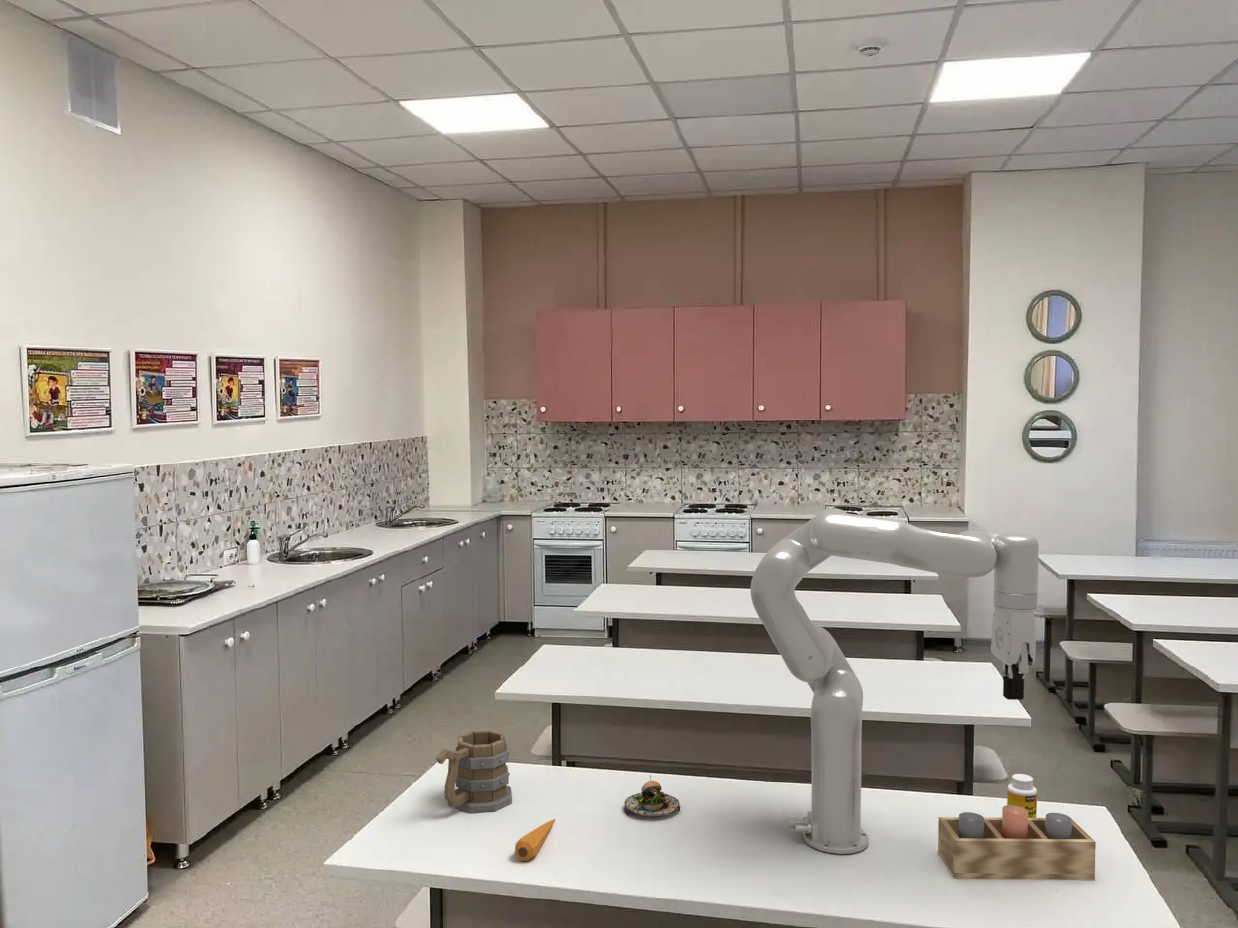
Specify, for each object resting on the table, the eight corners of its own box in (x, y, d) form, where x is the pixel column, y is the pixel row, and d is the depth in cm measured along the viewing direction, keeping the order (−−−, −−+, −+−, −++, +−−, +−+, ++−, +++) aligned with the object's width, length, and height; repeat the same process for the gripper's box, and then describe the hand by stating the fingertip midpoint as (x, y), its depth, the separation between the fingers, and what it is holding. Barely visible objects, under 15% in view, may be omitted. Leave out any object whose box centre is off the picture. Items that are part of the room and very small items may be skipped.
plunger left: (962, 859, 176) (963, 822, 176) (955, 848, 181) (955, 811, 180) (987, 859, 176) (987, 822, 176) (978, 848, 180) (979, 812, 180)
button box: (955, 878, 174) (955, 840, 173) (937, 852, 183) (938, 816, 183) (1094, 879, 173) (1095, 841, 172) (1070, 853, 183) (1070, 817, 182)
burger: (618, 819, 199) (618, 784, 199) (630, 797, 211) (630, 764, 210) (675, 825, 197) (675, 789, 196) (684, 802, 208) (684, 768, 208)
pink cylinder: (1006, 852, 176) (1007, 814, 175) (998, 841, 180) (998, 804, 180) (1031, 852, 176) (1031, 814, 175) (1021, 841, 180) (1022, 805, 180)
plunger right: (1050, 859, 176) (1051, 822, 175) (1040, 848, 180) (1041, 812, 180) (1075, 859, 176) (1076, 822, 175) (1064, 848, 180) (1065, 812, 180)
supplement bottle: (1025, 834, 191) (1026, 784, 190) (1000, 824, 196) (1001, 775, 195) (1042, 827, 194) (1043, 778, 194) (1017, 818, 199) (1018, 769, 198)
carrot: (528, 868, 180) (537, 847, 179) (507, 856, 181) (517, 835, 180) (560, 833, 199) (569, 814, 199) (541, 822, 200) (550, 803, 200)
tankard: (481, 784, 218) (480, 719, 217) (523, 797, 210) (522, 730, 209) (415, 815, 201) (413, 745, 201) (457, 830, 194) (456, 757, 193)
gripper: (980, 592, 185) (978, 686, 186) (1010, 609, 170) (1008, 710, 171) (1019, 592, 185) (1017, 686, 186) (1053, 609, 170) (1050, 711, 171)
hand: (1013, 697), depth 178 cm, fingers closed
